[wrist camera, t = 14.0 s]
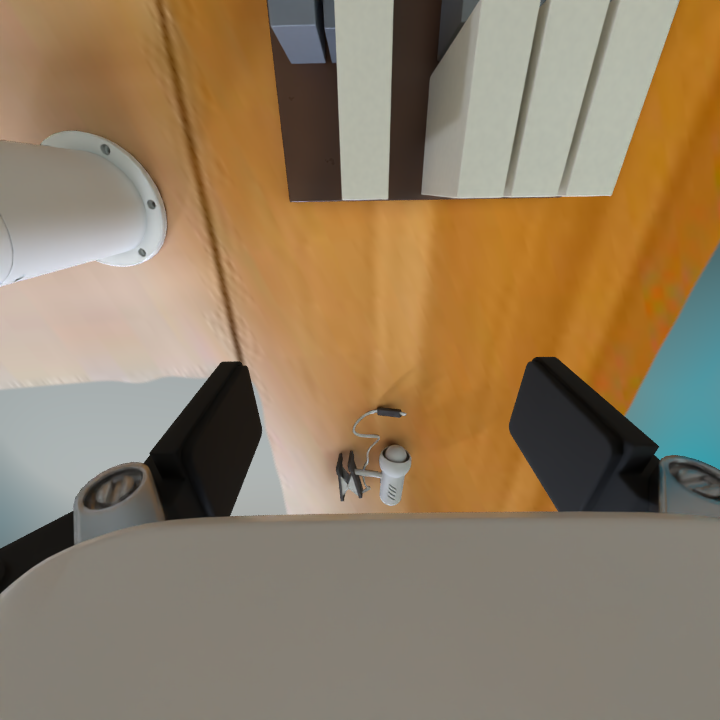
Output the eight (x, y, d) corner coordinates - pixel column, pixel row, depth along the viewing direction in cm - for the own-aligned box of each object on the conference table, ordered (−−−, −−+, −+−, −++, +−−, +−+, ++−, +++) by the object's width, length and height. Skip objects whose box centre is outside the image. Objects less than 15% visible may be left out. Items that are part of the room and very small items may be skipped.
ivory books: (421, 194, 31) (456, 198, 20) (429, 76, 26) (482, -6, 15) (519, 192, 31) (611, 195, 20) (544, 74, 26) (683, -10, 15)
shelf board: (292, 201, 32) (289, 202, 31) (258, -101, 23) (252, -118, 21) (553, 196, 32) (562, 197, 31) (635, -110, 22) (652, -128, 21)
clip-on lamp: (344, 393, 49) (337, 486, 54) (338, 410, 43) (331, 513, 48) (417, 401, 48) (403, 494, 53) (422, 419, 42) (406, 523, 47)
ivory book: (348, 195, 31) (341, 200, 20) (344, 78, 26) (334, -3, 15) (377, 194, 31) (388, 199, 20) (379, 77, 26) (393, -5, 15)
